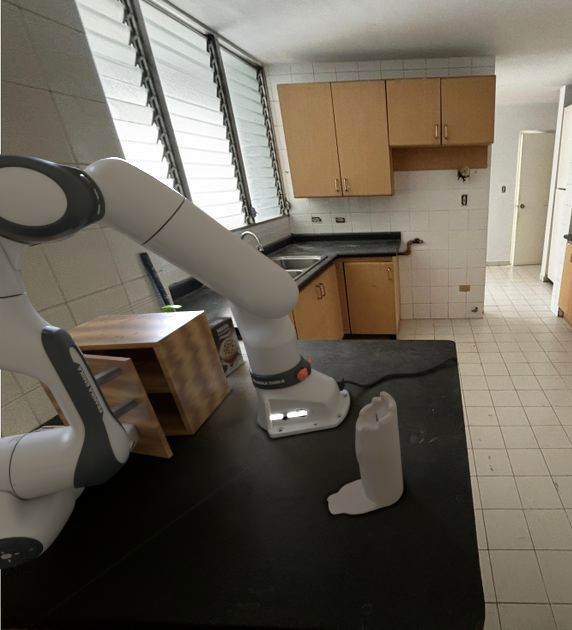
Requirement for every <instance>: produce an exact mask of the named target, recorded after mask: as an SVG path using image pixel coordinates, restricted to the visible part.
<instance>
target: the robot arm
mask: <svg viewBox="0 0 572 630" xmlns="http://www.w3.org/2000/svg"><path fill="white" fill-rule="evenodd" d="M91 225H99V226H103V227H105V228H106V227H107V228H109V229H111V230H113V231H115V232H117V233H119V234H121V235H123V236H125V237H127V238H128V239H130V240H131V241H133V242H135V243H137V245H140V246H141V247H143V248H145V250H148V251H149V252H151V253H152V254H155V255H156V256H158V257H159V258H161V259H163V260H164V261H165V262H168V263H169V264H171V265H173V266H174V267H176V268H177V269H179V270H180V271H182V272H184V273H186V274H187V275H189V276H190V277H192V278H193V279H195V280H197V281H198V282H199V283H201V284H203V286H206V287H207V288H209V289H210V290H212V291H214V292H215V293H217V294H218V295H219V296H221V297H222V298H224V299H225V300H227V303H228V306H229V309H230V311H231V314H232V316H233V317H232V318H233V319H234V322H235V324H236V327H237V330H238V332H239V334H240V337H241V339H242V343H243V346H244V349H245V354H246V356H247V360H248V364H249V369H248V370H249V371H248V372H249V374H250V379H251V382H252V385H253V387H254V388H255V393H256V399H257V418H256V420H257V423H258V425H259V427H261V428H262V429H264V430H266V431H267V434H268V436H269V437H270V438H271V439H277V438H281V437H282V438H283V437H287V436H294V435H300V434H304V433H305V434H306V433H311V432H316V431H322V430H327V429H328V430H329V429H333V428H336V427H338V426H339V425H341V423H342V422H343V421H344V420H345V418H346V417H347V415H348V413H349V411H350V406H351V396H350V393H349V391H348V390H347V389H345V387H346V384H350V385H353V386H356V387H359V388H368V387H372V386H374V385H376V384H377V383H379V382H381V381H382V380H384V379H386V378H390V377H394V376H395V377H397V376H415V375H421V374H424V373H427V372H430V371H432V370H434V369H436V368H439V367H442V366H443V365H444V364H446V363H447V362H449V361H450V360H452V361H453V360H454V361H457V358H456V357H454V356H450V357H448V358H447V357H446V358H445V359H444V360H443V361H441V362H440V363H438V364H435V365H433V366H430V367H428V368H426V369H422V370H418V371H414V372H394V373H388V374H385V375H383V376H380V377H379V378H377V379H376V380H374V381H372V382H370V383H366V384H364V383H358V382H357V381H356V382H355V381H353V380H345V377H335V376H329V375H327V374H325V373H322V372H321V371H318V370H316V369H314V368H312V367H311V364H312V363H313V362H312V357H311V356H310V357H309V358H308V360H307V359H305V358H304V356H303V355H302V354H301V352H300V347H299V341H298V336H297V332H296V328H295V326H294V324H293V322H292V320H291V318H290V316H289V314H290V313H292V311H293V310H294V309H295V308H296V306H297V304H298V302H299V298H300V292H299V287H298V284H297V282H296V280H294V278H293V276H291V275H290V273H289V272H288V271H287V270H286V269H284V268H283V267H282V266H280V265H279V264H278V263H276V262H275V261H273V260H272V259H271V258H269V257H268V256H267V255H265V254H263V252H261V251H260V250H258V249H257V248H256V247H254V246H252V244H250V243H248V242H247V241H246V240H244V239H242V238H241V237H239V236H238V235H237V234H236V233H234V232H232V231H231V230H229V229H228V228H227V227H226V226H224V225H222V223H220V222H219V221H217V220H216V219H215V218H213V217H212V216H210V215H209V213H206V212H205V211H204V210H203V209H201V208H200V207H199V206H198V205H196V204H195V203H193V202H192V201H191V200H189V199H188V198H187V197H185V196H184V195H182V194H181V193H180V192H179V191H177V190H176V189H175V188H173V187H171V186H170V185H168V184H167V183H166V182H164V181H162V180H161V179H159V178H157V176H154V175H153V174H151V173H149V172H148V171H146V170H144V169H142V168H140V167H139V166H137V165H135V164H133V163H132V162H130V161H128V160H125V159H123V158H119V157H107V158H101V159H98V160H96V161H93V162H92V163H90V164H89V165H87V166H86V167H85V168H84V169H81V168H78V167H74V166H70V165H66V164H62V163H59V162H55V161H54V162H53V161H49V160H46V159H42V158H38V157H34V156H30V155H24V154H16V153H15V154H14V153H0V370H1V371H7V372H11V373H12V372H13V373H17V374H21V375H24V376H28V377H31V378H33V379H36V380H37V381H38V382H39V381H41V382H43V383H44V384H45V385H46V386H47V387H48V388H49V389H50V391H51V392H52V394H53V396H54V398H55V400H56V401H57V403H58V405H59V407H60V409H61V410H62V412H63V414H64V416H65V418H66V419H67V421H68V423H69V425H70V426H67V427H65V426H62V427H56V428H50V429H45V430H39V431H34V432H27V433H20V434H15V435H9V436H4V437H0V570H4V569H9V568H14V567H17V566H20V565H24V564H27V563H29V562H31V561H33V560H36V559H37V558H38V557H40V556H42V554H43V553H44V552H46V551H47V550H48V549H49V547H50V546H52V544H53V543H54V542H55V540H56V539H57V538H58V536H59V535H60V533H61V531H62V530H64V529H63V528H64V527H65V526H66V524H67V522H68V521H69V518H70V517H71V515H72V513H73V511H74V509H75V506H76V500H78V498H79V497H80V496H81V495H82V493H84V491H85V489H86V488H88V487H93V486H98V485H103V484H105V483H106V482H108V481H109V480H110V479H111V478H113V477H115V475H116V474H117V473H119V472H120V470H121V469H123V467H124V466H125V465H126V463H127V462H128V461H129V457H130V453H131V452H130V451H131V450H132V449H133V448H134V446H135V445H136V443H137V442H138V440H139V438H140V435H139V433H138V431H137V429H136V427H135V425H133V424H128V423H123V424H121V423H120V422H119V420H118V419H117V418H116V416H115V415H114V414H113V412H112V410H111V408H110V407H109V405H108V403H107V401H106V399H105V397H104V395H103V393H102V391H101V389H100V387H99V385H98V383H97V381H96V379H95V377H94V375H93V373H92V371H91V369H90V367H89V365H88V363H87V361H86V359H85V357H84V356H83V354H82V352H81V350H80V348H79V347H78V345H77V344H76V342H75V341H74V339H73V338H72V337H71V335H70V334H69V333H68V332H67V330H66V329H64V328H61V327H57V326H54V325H52V324H51V323H50V322H48V321H47V320H45V319H44V317H42V316H41V315H40V314H39V313H38V312H37V310H36V309H35V307H34V306H33V304H32V303H31V301H30V299H29V296H28V292H27V289H26V285H25V282H24V279H23V274H22V269H21V257H22V254H23V252H24V251H25V250H26V249H27V248H29V247H34V246H39V245H42V244H52V243H58V242H63V241H65V240H67V239H70V238H72V237H74V236H75V235H77V234H78V233H79V232H80V231H81V230H83V229H85V228H86V227H89V226H91Z"/></svg>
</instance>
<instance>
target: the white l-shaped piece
mask: <svg viewBox="0 0 572 630" xmlns="http://www.w3.org/2000/svg"><path fill="white" fill-rule="evenodd" d="M354 440H355V444H354V445H355V455H356V461H357V462H358V466H359V474H360V479H356V480H354V481H352V482H349V483H346V484H345V485H343V486H342V487H341V488H340V489H339V490H338V492H336V493H332V494H331V495H329V496H328V497H327V499H326V501H327V502H328V511H329V512H330V513H331V514H332V515H339V514H347V515H361V514H362V515H363V514H366V513H369V512H373V511H375V510H378V509H381V508H384V507H385V508H386V507H389V506H392V505H393V504H395V503H396V502H398V501H399V499H400V498H402V497H401V496H402V495H403V492H404V477H403V469H402V468H403V467H402V456H401V455H402V453H401V443H400V442H401V441H400V431H399V421H398V408H397V402H396V400H395V399H394V397H393V396H392V395H391V394H390V393H388V392H386V391H380V393H379V396H374V397H372V398H371V402H370V403H368V404H366V405H364V406H363V407H362V408H361V409H360V411H359V414H358V417H357V420H356V422H355V439H354Z"/></svg>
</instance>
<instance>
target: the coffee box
mask: <svg viewBox="0 0 572 630" xmlns="http://www.w3.org/2000/svg"><path fill="white" fill-rule="evenodd" d="M207 320H208V323H209V326H210V329H211V333H212V336H213V339H214V342H215V345H216V348H217V351H218V354H219V358H220V361H221V364H222V367H223V370H224V373H225V376H226V377H227V376H229V375H230V374H231V373H233V372H234V371H235V370H236V369H239V367H240V366H242V365H243V364H244V363H245V360H244V357H243V353H242V350H241V346H240V343H239V339H238V336H237V332H236V328H235V325H234V322H233V317H231V316H214V317H212V318H210V319H207Z"/></svg>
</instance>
